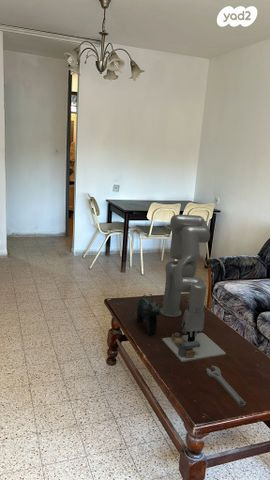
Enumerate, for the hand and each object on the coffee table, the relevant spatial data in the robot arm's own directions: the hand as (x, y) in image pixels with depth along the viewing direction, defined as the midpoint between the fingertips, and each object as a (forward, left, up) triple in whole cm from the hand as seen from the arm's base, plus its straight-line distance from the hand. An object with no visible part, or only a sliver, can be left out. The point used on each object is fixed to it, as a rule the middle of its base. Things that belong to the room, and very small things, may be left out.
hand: (190, 342), depth 177 cm
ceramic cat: (-23, -14, -2) cm, 27 cm away
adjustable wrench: (+31, -3, -3) cm, 31 cm away
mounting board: (+1, +1, -2) cm, 2 cm away
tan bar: (+1, -5, -1) cm, 6 cm away
